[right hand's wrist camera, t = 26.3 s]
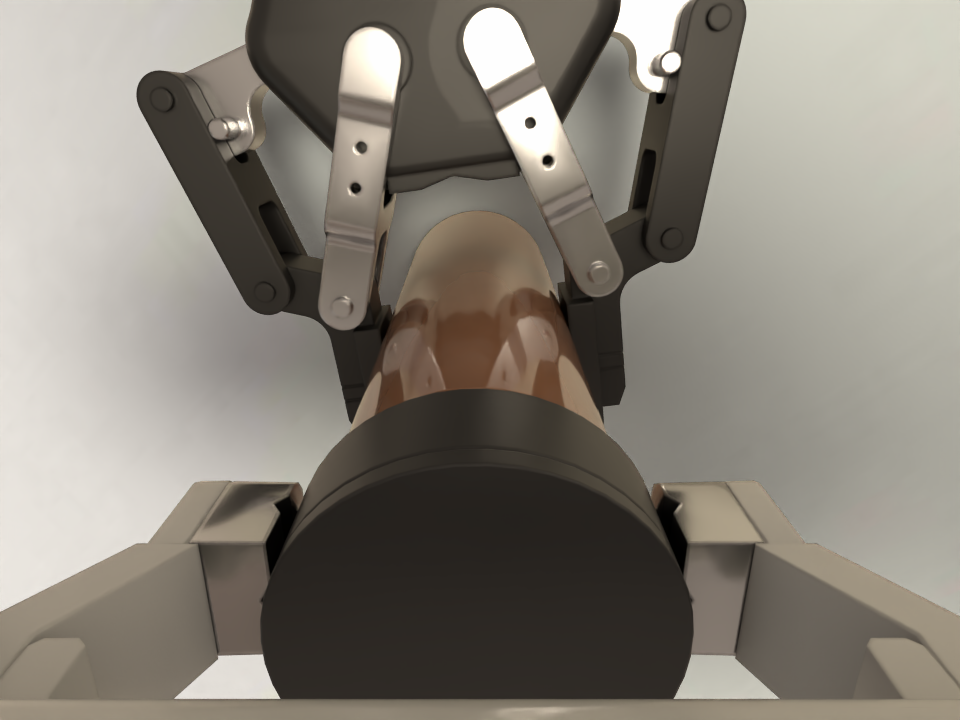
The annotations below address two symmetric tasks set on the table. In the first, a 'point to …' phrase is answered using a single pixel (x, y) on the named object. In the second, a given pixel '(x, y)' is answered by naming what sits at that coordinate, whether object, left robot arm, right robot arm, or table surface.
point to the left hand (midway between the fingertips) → (491, 425)
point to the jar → (478, 322)
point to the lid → (477, 563)
